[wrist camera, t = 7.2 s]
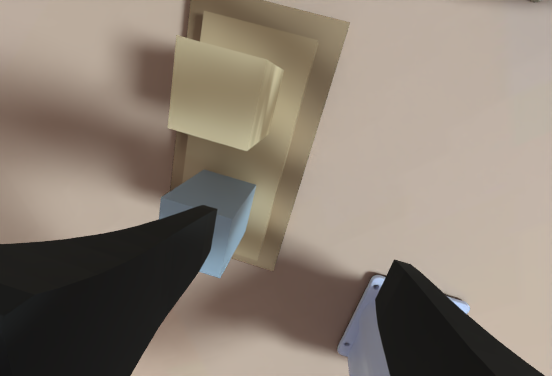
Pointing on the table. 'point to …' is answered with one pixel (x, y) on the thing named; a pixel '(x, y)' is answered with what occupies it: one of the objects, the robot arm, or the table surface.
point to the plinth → (287, 115)
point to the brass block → (222, 94)
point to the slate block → (230, 212)
